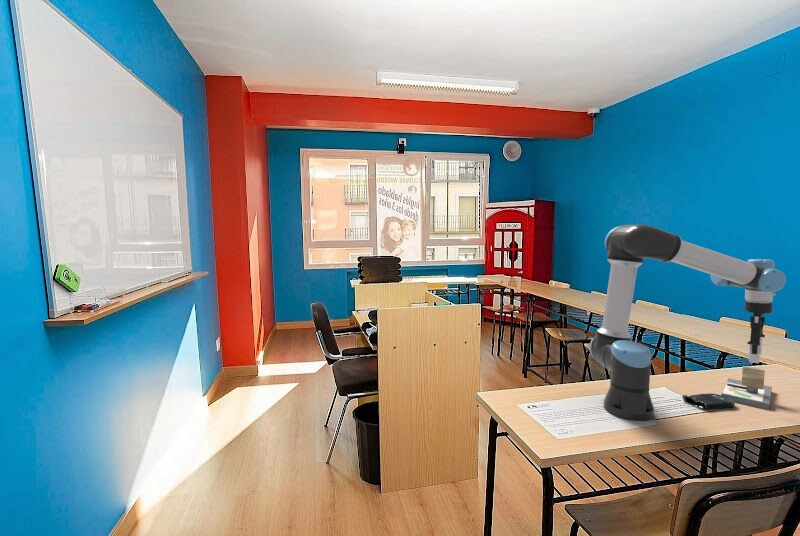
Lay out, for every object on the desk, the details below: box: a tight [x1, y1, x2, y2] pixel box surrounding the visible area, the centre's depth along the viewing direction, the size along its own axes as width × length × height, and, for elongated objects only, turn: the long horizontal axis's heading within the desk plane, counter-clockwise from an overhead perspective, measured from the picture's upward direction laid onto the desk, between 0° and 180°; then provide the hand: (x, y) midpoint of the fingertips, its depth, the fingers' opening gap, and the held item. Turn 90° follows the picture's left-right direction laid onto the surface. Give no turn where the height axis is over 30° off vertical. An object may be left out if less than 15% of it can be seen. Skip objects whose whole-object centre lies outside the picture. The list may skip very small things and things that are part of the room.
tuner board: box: [720, 377, 773, 410], centre depth 149 cm, size 22×13×2 cm, turn 135°
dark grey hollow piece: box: [682, 393, 736, 410], centre depth 141 cm, size 9×6×15 cm
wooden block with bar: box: [726, 365, 766, 394], centre depth 148 cm, size 3×10×9 cm, turn 45°
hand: (755, 358), depth 145 cm, fingers open, 13 cm apart
